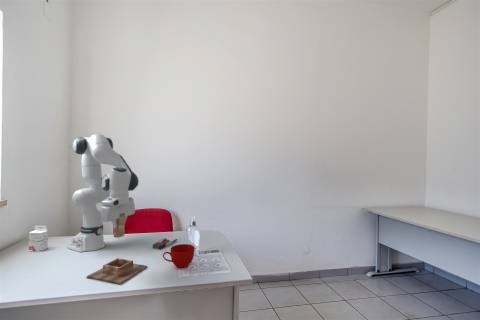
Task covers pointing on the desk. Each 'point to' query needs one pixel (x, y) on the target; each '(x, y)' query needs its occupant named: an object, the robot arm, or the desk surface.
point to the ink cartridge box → (38, 238)
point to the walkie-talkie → (163, 243)
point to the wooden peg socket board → (117, 271)
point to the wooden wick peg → (120, 226)
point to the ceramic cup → (181, 255)
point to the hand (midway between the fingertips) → (119, 226)
